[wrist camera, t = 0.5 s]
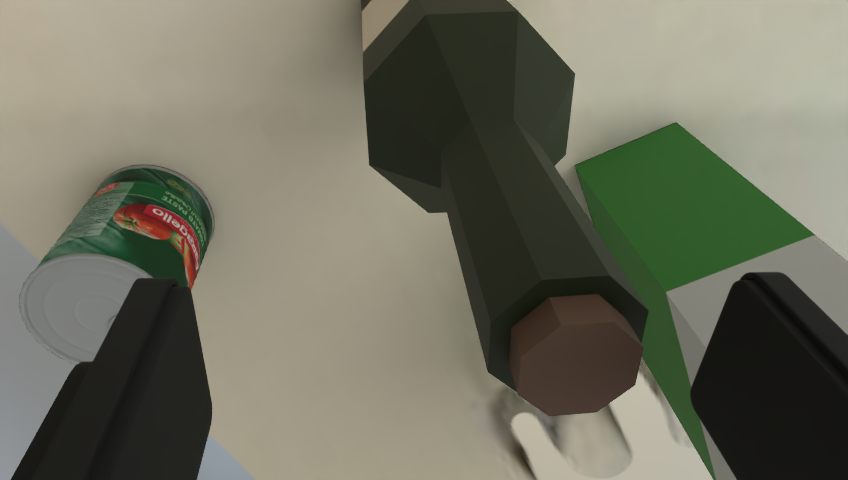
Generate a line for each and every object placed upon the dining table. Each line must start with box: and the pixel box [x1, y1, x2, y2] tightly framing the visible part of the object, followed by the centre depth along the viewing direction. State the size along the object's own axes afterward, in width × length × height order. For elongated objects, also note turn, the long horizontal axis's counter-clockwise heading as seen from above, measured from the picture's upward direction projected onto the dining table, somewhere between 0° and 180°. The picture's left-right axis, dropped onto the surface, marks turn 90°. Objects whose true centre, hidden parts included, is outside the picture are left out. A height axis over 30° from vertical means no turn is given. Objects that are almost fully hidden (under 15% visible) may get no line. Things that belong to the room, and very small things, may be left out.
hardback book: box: [575, 123, 848, 480], centre depth 37 cm, size 18×7×24 cm, turn 23°
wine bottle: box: [361, 0, 649, 416], centre depth 24 cm, size 8×8×30 cm
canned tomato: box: [19, 165, 214, 365], centre depth 37 cm, size 8×8×11 cm
